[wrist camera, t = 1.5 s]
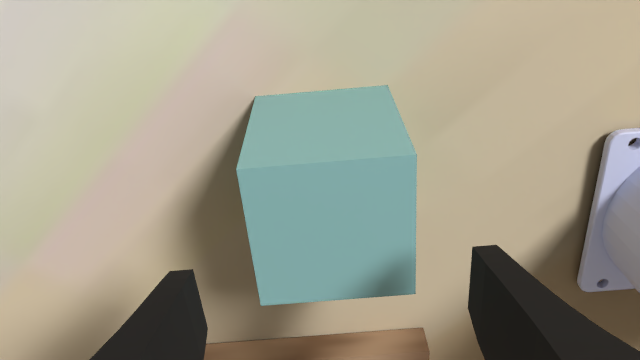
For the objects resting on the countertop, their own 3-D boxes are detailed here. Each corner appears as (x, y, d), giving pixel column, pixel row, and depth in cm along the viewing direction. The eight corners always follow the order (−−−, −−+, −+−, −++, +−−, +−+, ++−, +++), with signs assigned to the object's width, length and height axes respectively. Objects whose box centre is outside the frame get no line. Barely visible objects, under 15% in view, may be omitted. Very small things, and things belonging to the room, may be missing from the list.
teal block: (387, 84, 19) (416, 154, 14) (389, 198, 22) (415, 293, 17) (255, 96, 20) (236, 169, 14) (272, 207, 22) (260, 305, 17)
